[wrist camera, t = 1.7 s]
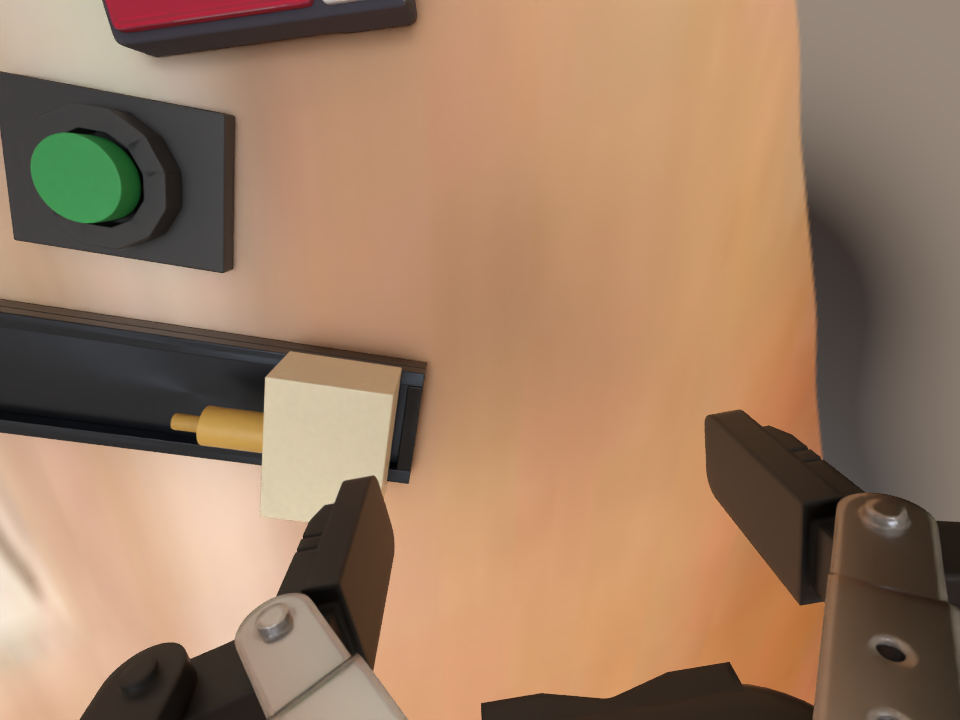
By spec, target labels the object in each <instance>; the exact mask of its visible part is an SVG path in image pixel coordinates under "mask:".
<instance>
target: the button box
mask: <svg viewBox="0 0 960 720" xmlns="http://www.w3.org/2000/svg"><path fill="white" fill-rule="evenodd" d="M0 131H1V139H2V147H3V155H4V163H5V171H6V179H7V186H8V194H9V202H10V210H11V218H12V226H13V234H14V239H15V240H19V241H25V242H31V243H37V244H44V245H50V246H56V247H63V248H69V249H75V250H81V251H88V252H94V253H100V254H106V255H113V256H119V257H125V258H132V259H138V260H144V261H150V262H157V263H163V264H169V265H176V266H182V267H188V268H194V269H201V270H207V271H213V272H220V273H224V272H227V271H229V270H232V268H233V196H234V116H232V115H229V114H225V113H220V112H214V111H209V110H204V109H198V108H193V107H188V106H182V105H177V104H172V103H166V102H161V101H156V100H150V99H145V98H140V97H134V96H129V95H124V94H118V93H113V92H108V91H103V90H97V89H92V88H87V87H81V86H76V85H71V84H65V83H60V82H55V81H49V80H44V79H39V78H33V77H28V76H23V75H17V74H12V73H7V72H1V71H0ZM56 133H76V134H86V135H95V136H99V137H103V138H105V139H108V140H110V141H112V142H113V143H115V144H116V145H118V146H119V147H120V148H122V149H123V150H124V151H125V152H126V153H127V154H128V156H129V157H130V158H131V159H132V161H133V162H134V164H135V166H136V168H137V170H138V173H139V176H140V180H141V195H140V199H139V202H138V204H137V206H136V207H135V209H134V210H133V211H132V212H131V213H130V214H129V215H127V216H125V217H123V218H121V219H118V220H113V221H106V222H98V223H79V222H74V221H72V220H69V219H67V218H65V217H63V216H61V215H59V214H58V213H56V212H55V211H54V210H52V209H51V208H50V207H49V206H48V205H47V204H46V203H45V202H44V201H43V199H42V198H41V196H40V195H39V193H38V192H37V190H36V188H35V185H34V183H33V180H32V176H31V158H32V154H33V152H34V150H35V148H36V147H37V145H38V144H39V143H40V142H41V141H42V140H43V139H45V138H46V137H48V136H50V135H53V134H56Z"/></svg>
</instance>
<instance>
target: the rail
mask: <svg viewBox="0 0 960 720" xmlns="http://www.w3.org/2000/svg"><path fill="white" fill-rule="evenodd" d="M290 351H292V352H299V353H305V354H312V355H319V356H326V357H333V358H339V359H346V360H353V361H360V362H367V363H373V364H380V365H387V366H394V367H401V368H402V371H401V378H400V386H399V393H398V401H397V409H396V416H395V424H394V431H393V439H392V447H391V454H390V462H389V469H388V477H387V481H391V482H399V483H407V484H408V483H409V479H410V473H411V467H412V460H413V453H414V447H415V440H416V433H417V426H418V420H419V413H420V406H421V399H422V393H423V386H424V379H425V372H426V366H427V363H426V362H419V361H413V360H406V359H399V358H392V357H386V356H379V355H372V354H365V353H359V352H352V351H345V350H338V349H332V348H325V347H318V346H312V345H305V344H298V343H291V342H285V341H278V340H271V339H264V338H258V337H251V336H244V335H237V334H231V333H224V332H217V331H211V330H204V329H197V328H190V327H184V326H177V325H170V324H163V323H157V322H150V321H143V320H136V319H130V318H123V317H116V316H110V315H103V314H96V313H89V312H83V311H76V310H69V309H62V308H56V307H49V306H42V305H35V304H29V303H22V302H15V301H9V300H2V299H0V432H1V433H9V434H16V435H24V436H32V437H40V438H48V439H56V440H64V441H72V442H80V443H88V444H96V445H104V446H112V447H120V448H128V449H136V450H144V451H152V452H160V453H168V454H176V455H184V456H192V457H200V458H208V459H216V460H224V461H232V462H240V463H247V464H255V465H262V453H258V452H250V451H242V450H234V449H226V448H218V447H211V446H203V445H200V444H199V443H198V442H197V437H196V432H188V431H180V430H173V429H172V428H171V419H172V417H173V415H174V414H175V413H182V414H189V415H197V416H201V413H202V412H203V410H204V409H205V408H206V407H207V406H210V405H211V406H218V407H226V408H233V409H241V410H248V411H255V412H263V413H264V394H265V377H266V376H267V375H268V374H269V373H270V372H271V371H272V370H273V369H274V368H275V366H276V365H277V364H278V363H279V362H280V361H281V360H282V359H283V358H284V357H285V356H286V355H287V354H288V353H289V352H290Z"/></svg>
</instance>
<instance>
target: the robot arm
mask: <svg viewBox="0 0 960 720" xmlns="http://www.w3.org/2000/svg"><path fill="white" fill-rule="evenodd" d="M705 448H706V471H707V478H708V482H709V485H710V488H711V490H712V493H713V494H714V496H715V498H716V499H717V500H718V502H719V503H720V504H721V506H722V507H723V508H724V509H725V511H726V512H727V513H728V514H729V516H730V517H731V518H732V520H733V521H734V522H735V523H736V525H737V526H738V527H739V528H740V530H741V531H742V532H743V533H744V535H745V536H746V537H747V539H748V540H749V541H750V542H751V544H752V545H753V546H754V547H755V549H756V550H757V551H758V553H759V554H760V555H761V556H762V558H763V559H764V560H765V561H766V563H767V564H768V565H769V567H770V568H771V569H772V570H773V572H774V573H775V574H776V575H777V577H778V578H779V579H780V581H781V582H782V583H783V584H784V586H785V587H786V588H787V589H788V591H789V592H790V593H791V595H792V596H793V597H794V598H795V600H796V601H797V602H798V603H799V605H806V604H812V603H818V602H825V608H824V618H823V627H822V636H821V646H820V655H819V664H818V674H817V683H816V692H815V702H814V706H813V705H811V704H809V703H807V702H805V701H803V700H801V699H798V698H796V697H793V696H791V695H788V694H786V693H782V692H779V691H776V690H772V689H769V688H765V687H760V686H754V685H749V684H741V682H740V680H739V678H738V677H737V675H736V673H735V671H734V669H733V667H732V666H731V664H730V662H726V663H720V664H714V665H708V666H702V667H696V668H690V669H684V670H678V671H672V672H667V673H665V674H663V675H661V676H658V677H656V678H654V679H652V680H650V681H647V682H645V683H643V684H641V685H639V686H637V687H634V688H632V689H630V690H628V691H626V692H623V693H621V694H619V695H617V696H615V697H612V698H607V699H601V698H590V697H578V696H567V695H556V694H544V693H540V694H534V695H528V696H522V697H516V698H510V699H504V700H498V701H492V702H486V703H481V714H482V720H960V522H947V521H936V520H935V519H934V517H933V516H932V515H931V514H930V513H928V512H927V511H926V510H925V509H923V508H921V507H920V506H918V505H916V504H914V503H912V502H910V501H907V500H905V499H902V498H899V497H895V496H891V495H887V494H880V493H865V492H864V491H863V490H862V489H860V488H859V487H858V486H856V485H855V484H854V483H853V482H851V481H850V480H849V479H848V478H846V477H845V476H844V475H842V474H841V473H840V472H839V471H837V470H836V469H835V468H834V467H832V466H831V465H829V464H828V463H827V462H826V461H825V460H821V457H820V456H818V455H817V454H816V453H814V452H813V451H812V450H811V449H810V450H808V448H807V446H806V445H804V444H803V443H802V442H800V441H799V440H798V439H797V438H795V437H794V436H793V435H791V434H789V433H786V432H784V431H781V430H779V429H776V428H774V427H771V426H764V427H762V426H761V425H759V424H758V423H757V422H756V421H755V420H753V419H752V418H751V417H750V416H749V415H748V414H746V413H745V412H744V411H742V410H734V411H728V412H723V413H717V414H712V415H708V416H707V417H706V419H705ZM393 557H394V535H393V529H392V525H391V522H390V519H389V515H388V512H387V509H386V505H385V502H384V499H383V495H382V492H381V489H380V485H379V482H378V480H377V478H376V477H375V476H374V475H372V476H367V477H361V478H356V479H350V480H345V481H343V482H342V484H341V487H340V490H339V492H338V495H337V497H336V500H335V502H334V503H333V504H327V505H324V506H323V507H322V508H321V509H320V510H319V511H318V512H317V513H316V514H315V515H314V516H313V517H312V519H311V520H310V521H309V523H308V525H307V528H306V530H305V532H304V535H303V539H301V541H300V544H299V546H298V548H297V553H295V555H294V557H293V559H292V562H291V564H290V566H289V569H288V571H287V573H286V575H285V578H284V580H283V582H282V584H281V587H280V589H279V591H278V593H277V596H276V597H274V598H272V599H270V600H268V601H266V602H264V603H263V604H261V605H260V606H258V607H257V608H256V609H255V610H253V611H252V612H251V613H250V614H249V615H248V616H247V617H246V618H245V619H244V621H243V622H242V623H241V625H240V627H239V628H238V631H237V633H236V636H235V640H233V641H231V642H229V643H227V644H224V645H222V646H220V647H217V648H215V649H213V650H210V651H208V652H206V653H203V654H201V655H199V656H196V657H194V658H192V659H190V658H189V656H188V654H187V652H186V650H185V649H184V647H183V646H182V645H180V644H178V643H162V644H158V645H155V646H152V647H150V648H147V649H145V650H143V651H141V652H139V653H138V654H136V655H134V656H133V657H131V658H130V659H128V660H127V661H126V662H124V663H123V664H122V665H121V666H119V667H118V668H117V669H116V670H115V671H114V672H113V673H112V674H111V675H110V676H109V677H108V678H107V680H106V681H105V682H104V683H103V685H102V686H101V687H100V689H99V691H98V692H97V694H96V695H95V697H94V698H93V700H92V701H91V703H90V704H89V706H88V707H87V709H86V711H85V712H84V714H83V715H82V717H81V718H80V720H408V719H407V717H406V716H405V715H404V713H403V712H402V710H401V709H400V708H399V706H398V705H397V704H396V702H395V701H394V700H393V698H392V697H391V696H390V694H389V693H388V692H387V690H386V689H385V687H384V686H383V685H382V683H381V682H380V681H379V679H378V678H377V677H376V675H375V674H374V673H373V669H374V663H375V658H376V652H377V646H378V641H379V635H380V630H381V624H382V619H383V613H384V607H385V602H386V596H387V591H388V585H389V580H390V574H391V568H392V563H393Z"/></svg>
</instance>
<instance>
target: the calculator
mask: <svg viewBox="0 0 960 720" xmlns="http://www.w3.org/2000/svg"><path fill="white" fill-rule="evenodd" d="M102 1H103V4H104V8H105V11H106V14H107V17H108V20H109V24H110V27H111V30H112V33H113V36H114V38H115V40H116V41H117V42H118V43H119V44H120V45H123V46H125V47H128V48H131V49H134V50H137V51H140V52H143V53H145V54H148V55H151V56H155V57H161V56H168V55H175V54H182V53H189V52H197V51H204V50H211V49H218V48H225V47H233V46H240V45H247V44H254V43H261V42H268V41H276V40H283V39H290V38H297V37H304V36H311V35H319V34H326V33H355V32H363V31H370V30H377V29H384V28H392V27H399V26H406V25H411V24H413V23H414V22H415V21H416V18H417V11H416V3H415V0H102Z"/></svg>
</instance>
